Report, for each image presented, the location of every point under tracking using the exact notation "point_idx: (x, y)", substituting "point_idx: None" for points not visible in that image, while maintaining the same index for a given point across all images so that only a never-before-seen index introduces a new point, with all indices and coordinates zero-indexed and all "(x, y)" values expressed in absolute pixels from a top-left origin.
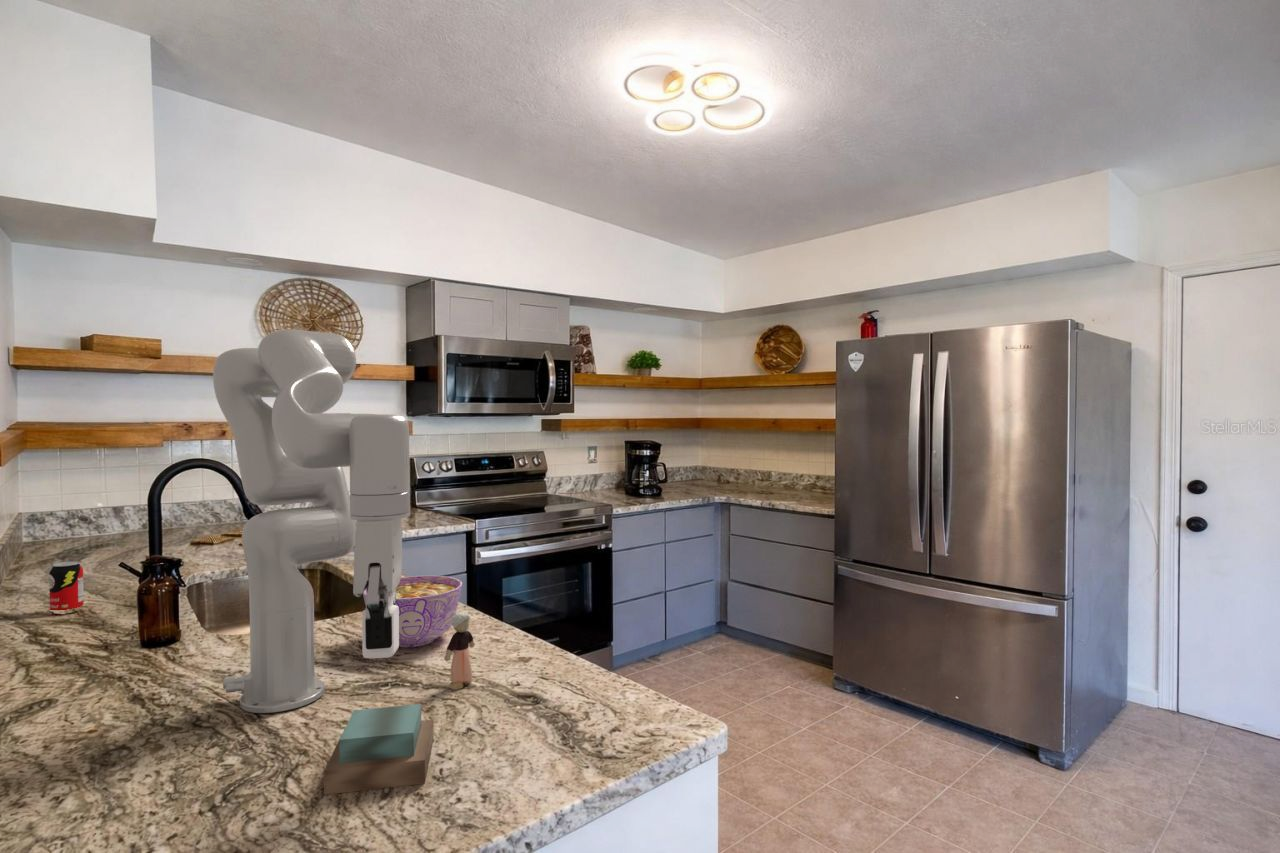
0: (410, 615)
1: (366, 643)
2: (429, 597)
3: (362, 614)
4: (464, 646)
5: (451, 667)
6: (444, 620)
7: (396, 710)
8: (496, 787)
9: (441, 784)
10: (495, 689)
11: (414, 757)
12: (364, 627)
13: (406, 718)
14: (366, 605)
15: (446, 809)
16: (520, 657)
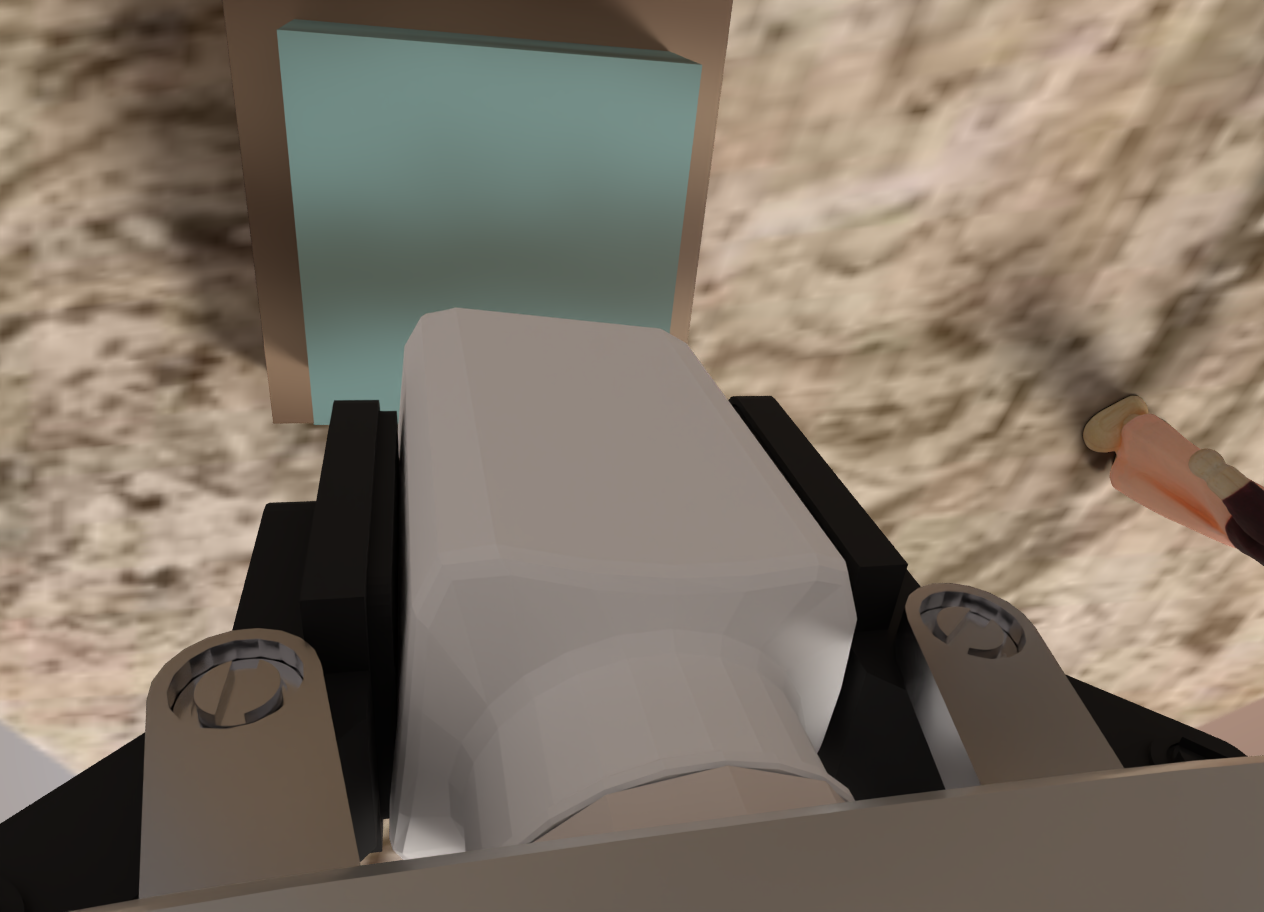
0: None
1: (334, 426)
2: None
3: (482, 546)
4: (1241, 547)
5: (1182, 448)
6: None
7: (618, 310)
8: (224, 607)
9: (271, 437)
10: (1006, 559)
11: (305, 379)
12: (418, 478)
13: None
14: (151, 841)
15: (74, 469)
16: (1237, 620)
